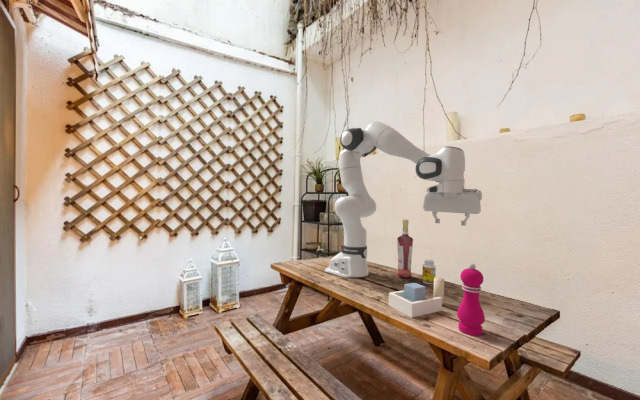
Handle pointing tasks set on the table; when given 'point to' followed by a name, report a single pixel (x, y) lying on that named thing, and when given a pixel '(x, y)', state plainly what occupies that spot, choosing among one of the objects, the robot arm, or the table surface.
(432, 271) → the supplement bottle
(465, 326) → the pepper mill
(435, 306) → the white u-shaped wall
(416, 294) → the block
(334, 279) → the table surface
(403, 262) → the liquor
